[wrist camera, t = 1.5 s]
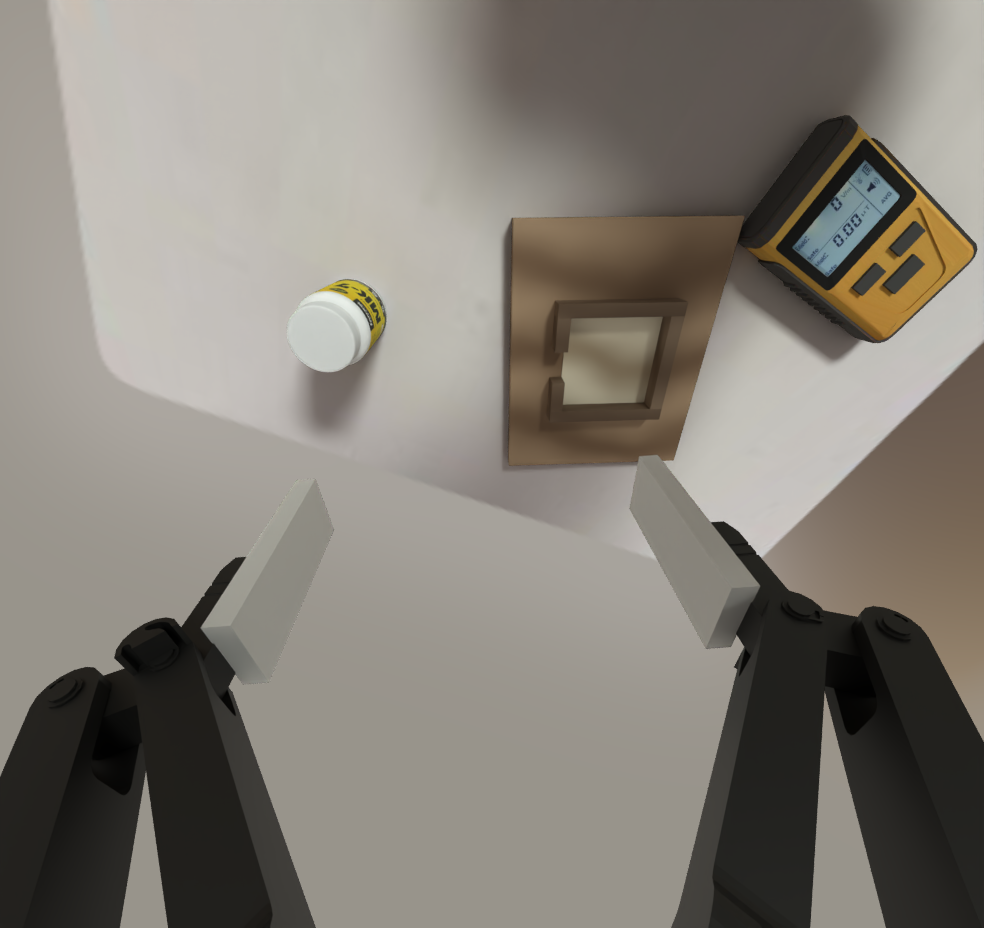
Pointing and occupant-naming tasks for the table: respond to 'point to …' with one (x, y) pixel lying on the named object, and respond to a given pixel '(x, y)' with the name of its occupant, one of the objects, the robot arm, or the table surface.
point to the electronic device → (856, 233)
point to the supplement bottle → (336, 325)
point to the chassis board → (610, 332)
